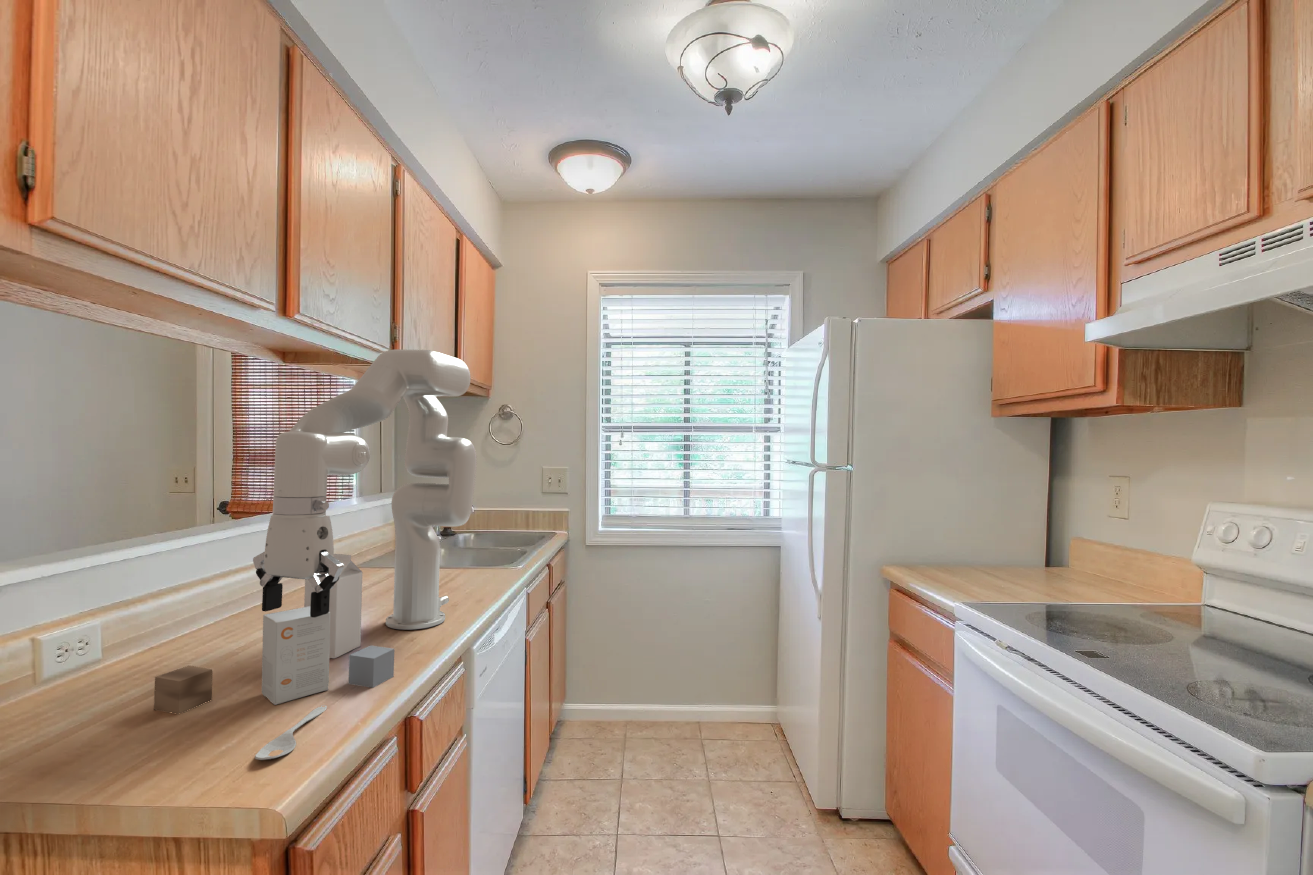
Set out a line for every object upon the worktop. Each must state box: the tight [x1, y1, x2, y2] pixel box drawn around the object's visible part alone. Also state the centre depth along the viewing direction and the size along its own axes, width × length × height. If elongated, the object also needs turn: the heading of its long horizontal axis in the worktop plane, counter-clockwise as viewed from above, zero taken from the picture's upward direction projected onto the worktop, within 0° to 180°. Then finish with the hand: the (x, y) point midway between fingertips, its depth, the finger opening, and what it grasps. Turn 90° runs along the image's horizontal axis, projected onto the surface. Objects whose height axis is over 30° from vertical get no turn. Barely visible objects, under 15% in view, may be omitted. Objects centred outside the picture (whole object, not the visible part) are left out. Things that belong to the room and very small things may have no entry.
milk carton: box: [303, 553, 363, 659], centre depth 116 cm, size 7×7×19 cm
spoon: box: [254, 705, 328, 761], centre depth 86 cm, size 4×21×2 cm, turn 6°
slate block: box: [348, 645, 395, 688], centre depth 103 cm, size 5×5×5 cm
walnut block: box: [153, 665, 214, 715], centre depth 92 cm, size 5×5×5 cm
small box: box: [261, 606, 330, 706], centre depth 98 cm, size 8×6×13 cm
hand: (295, 612), depth 97 cm, fingers open, 9 cm apart
